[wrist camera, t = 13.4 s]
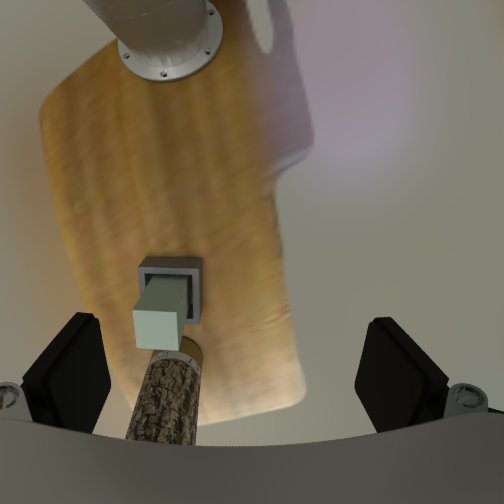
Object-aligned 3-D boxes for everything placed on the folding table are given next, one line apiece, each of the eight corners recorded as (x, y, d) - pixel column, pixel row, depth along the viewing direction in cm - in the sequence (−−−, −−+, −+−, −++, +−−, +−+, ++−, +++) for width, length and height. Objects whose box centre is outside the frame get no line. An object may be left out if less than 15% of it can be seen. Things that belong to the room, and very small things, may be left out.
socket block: (146, 256, 38) (138, 266, 34) (201, 258, 39) (198, 268, 35) (149, 307, 40) (142, 321, 36) (201, 309, 40) (199, 324, 37)
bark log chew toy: (156, 372, 43) (119, 523, 19) (151, 332, 41) (97, 487, 17) (203, 375, 43) (194, 533, 19) (202, 334, 41) (186, 500, 17)
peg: (158, 267, 39) (132, 310, 27) (190, 268, 39) (176, 312, 27) (159, 297, 40) (137, 348, 28) (190, 298, 40) (178, 350, 28)
